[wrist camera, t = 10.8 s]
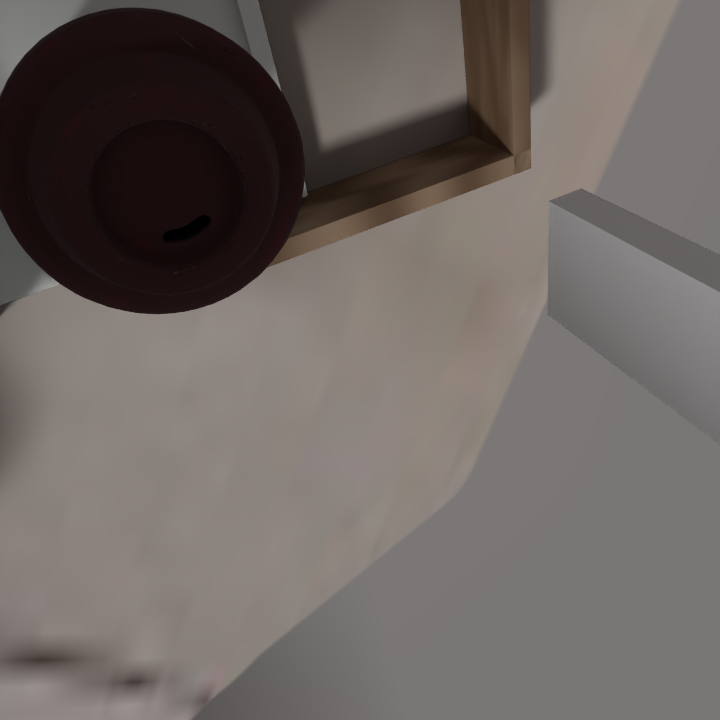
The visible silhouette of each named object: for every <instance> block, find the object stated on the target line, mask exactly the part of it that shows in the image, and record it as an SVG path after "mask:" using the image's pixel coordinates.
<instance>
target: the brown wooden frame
mask: <svg viewBox="0 0 720 720" xmlns="http://www.w3.org/2000/svg"><path fill="white" fill-rule="evenodd" d="M460 2H461V16H462V30H463V43H464V57H465V71H466V84H467V98H468V112H469V125H470V135H468V136H465V137H462V138H460V139H457V140H454V141H451V142H448V143H446V144H443V145H440V146H437V147H434V148H431V149H429V150H426V151H423V152H420V153H417V154H415V155H412V156H409V157H406V158H403V159H400V160H398V161H395V162H392V163H389V164H386V165H384V166H381V167H378V168H375V169H372V170H369V171H367V172H364V173H361V174H358V175H355V176H353V177H350V178H347V179H344V180H341V181H338V182H336V183H333V184H330V185H327V186H324V187H322V188H319V189H316V190H313V191H310V192H307V193H308V195H307V196H306V197H303V198H302V201H301V205H300V209H299V213H298V216H297V219H296V221H295V224H294V226H293V228H292V231H291V233H290V235H289V237H288V239H287V241H286V243H285V244H284V246H283V248H282V249H281V250H280V252H279V253H278V254H277V256H276V257H275V258H274V260H273V261H272V262H271V263H270V264H269V266H268V267H270V266H272V265H275V264H278V263H280V262H283V261H286V260H288V259H291V258H294V257H296V256H299V255H302V254H304V253H307V252H310V251H312V250H315V249H318V248H320V247H323V246H325V245H328V244H331V243H333V242H336V241H339V240H341V239H344V238H347V237H349V236H352V235H355V234H357V233H360V232H363V231H365V230H368V229H371V228H373V227H376V226H379V225H381V224H384V223H387V222H389V221H392V220H395V219H397V218H400V217H403V216H405V215H408V214H411V213H413V212H416V211H419V210H421V209H424V208H427V207H429V206H432V205H435V204H437V203H440V202H443V201H445V200H448V199H451V198H453V197H456V196H459V195H461V194H464V193H467V192H469V191H472V190H475V189H477V188H480V187H483V186H485V185H488V184H491V183H493V182H496V181H498V180H501V179H504V178H506V177H509V176H512V175H514V174H517V173H520V172H522V171H525V170H528V169H530V168H531V126H530V34H529V0H460Z"/></svg>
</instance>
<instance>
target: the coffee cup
mask: <svg viewBox="0 0 720 720" xmlns="http://www.w3.org/2000/svg"><path fill="white" fill-rule="evenodd" d="M304 178H305V166H304V154H303V146H302V141H301V137H300V133H299V129H298V127H297V124H296V121H295V119H294V116H293V114H292V111H291V109H290V106H289V104H288V102H287V101H286V99H285V97H284V95H283V93H282V92H281V90H280V88H279V87H278V85H277V84H276V82H275V81H274V80H273V79H272V77H271V76H270V75H269V74H268V72H267V71H266V70H265V69H264V68H263V67H262V65H261V64H260V63H259V62H258V61H257V60H256V59H255V58H254V57H253V56H251V55H250V54H249V53H248V52H247V51H246V50H245V49H243V48H242V47H241V46H239V45H238V44H237V43H235V42H234V41H233V40H231V39H229V38H228V37H226V36H224V35H223V34H221V33H219V32H218V31H216V30H214V29H213V28H211V27H209V26H207V25H205V24H203V23H201V22H198V21H196V20H194V19H191V18H188V17H186V16H183V15H180V14H176V13H172V12H168V11H163V10H159V9H149V8H115V9H107V10H103V11H98V12H94V13H90V14H87V15H84V16H82V17H79V18H76V19H74V20H71V21H69V22H68V23H66V24H64V25H62V26H60V27H58V28H56V29H55V30H53V31H52V32H50V33H49V34H48V35H46V36H45V37H43V38H42V39H41V40H39V41H38V42H37V43H36V44H35V45H34V46H33V47H32V48H31V49H30V50H29V51H28V52H27V53H26V54H25V55H24V57H23V58H22V59H21V60H20V62H19V63H18V64H17V65H16V67H15V68H14V70H13V72H12V73H11V75H10V76H9V78H8V80H7V82H6V84H5V86H4V88H3V90H2V93H1V95H0V210H1V212H2V214H3V216H4V218H5V220H6V222H7V224H8V226H9V228H10V230H11V232H12V233H13V235H14V236H15V238H16V240H17V241H18V243H19V244H20V245H21V247H22V248H23V249H24V251H25V252H26V253H27V254H28V255H29V256H30V257H31V259H32V260H33V261H34V262H35V263H36V264H37V265H38V266H39V267H40V268H41V269H42V270H43V271H44V272H46V273H47V274H48V275H49V276H50V277H52V278H53V279H54V280H55V281H57V282H58V283H60V284H61V285H63V286H65V287H66V288H68V289H69V290H71V291H73V292H74V293H76V294H78V295H80V296H82V297H84V298H86V299H89V300H91V301H94V302H96V303H99V304H102V305H105V306H107V307H111V308H115V309H120V310H124V311H129V312H135V313H145V314H168V313H178V312H185V311H189V310H194V309H198V308H201V307H204V306H207V305H211V304H213V303H216V302H218V301H220V300H223V299H225V298H227V297H229V296H231V295H232V294H234V293H236V292H237V291H239V290H241V289H242V288H243V287H245V286H246V285H247V284H249V283H250V282H251V281H253V280H254V279H255V278H257V277H258V276H259V275H260V274H261V273H262V272H263V271H264V270H265V269H266V268H267V267H268V266H269V264H270V263H271V262H272V261H273V260H274V258H275V257H276V256H277V254H278V253H279V252H280V250H281V249H282V248H283V246H284V244H285V243H286V241H287V239H288V237H289V235H290V233H291V231H292V228H293V226H294V224H295V221H296V219H297V216H298V213H299V209H300V205H301V201H302V195H303V190H304Z"/></svg>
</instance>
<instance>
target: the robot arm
mask: <svg viewBox="0 0 720 720" xmlns="http://www.w3.org/2000/svg"><path fill="white" fill-rule="evenodd" d="M548 315H549V316H551V317H552V318H553V319H554V320H556V321H557V322H558V323H559V324H561V325H562V326H564V327H565V328H566V329H568V330H569V331H570V332H571V333H573V334H574V335H575V336H577V337H578V338H579V339H580V340H582V341H583V342H585V343H586V344H587V345H588V346H590V347H591V348H592V349H594V350H595V351H596V352H598V353H599V354H600V355H602V356H603V357H604V358H605V359H607V360H608V361H609V362H611V363H612V364H613V365H615V366H616V367H617V368H619V369H620V370H621V371H623V372H624V373H625V374H627V375H628V376H629V377H631V378H632V379H633V380H634V381H636V382H637V383H638V384H640V385H641V386H642V387H644V388H645V389H646V390H648V391H649V392H650V393H652V394H653V395H654V396H655V397H657V398H658V399H660V400H661V401H662V402H663V403H665V404H666V405H667V406H669V407H670V408H671V409H673V410H674V411H675V412H677V413H678V414H679V415H681V416H682V417H683V418H684V419H686V420H687V421H688V422H690V423H691V424H692V425H694V426H695V427H696V428H698V429H699V430H700V431H702V432H703V433H704V434H706V435H707V436H708V437H710V438H711V439H712V440H713V441H715V442H716V443H717V444H719V445H720V254H718V253H715V252H713V251H711V250H709V249H707V248H705V247H703V246H701V245H699V244H697V243H694V242H692V241H690V240H688V239H686V238H684V237H682V236H680V235H678V234H675V233H674V232H671V231H669V230H667V229H665V228H663V227H661V226H659V225H657V224H654V223H652V222H650V221H648V220H646V219H644V218H642V217H640V216H638V215H636V214H634V213H632V212H629V211H627V210H625V209H623V208H621V207H619V206H617V205H615V204H613V203H611V202H609V201H606V200H604V199H602V198H600V197H598V196H596V195H594V194H592V193H590V192H588V191H585V190H583V189H579V190H576V191H574V192H571V193H568V194H566V195H563V196H561V197H558V198H556V199H553V200H550V201H549V227H548Z"/></svg>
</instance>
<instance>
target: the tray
mask: <svg viewBox="0 0 720 720" xmlns="http://www.w3.org/2000/svg"><path fill="white" fill-rule="evenodd" d="M115 8H149V9H159V10H163V11H168V12H172V13H176V14H180V15H183V16H186V17H188V18H191V19H194V20H196V21H198V22H201V23H203V24H205V25H207V26H209V27H211V28H213V29H214V30H216V31H218V32H219V33H221V34H223V35H224V36H226V37H228V38H229V39H231V40H233V41H234V42H235V43H237V44H238V45H239V46H241V47H242V48H243V49H245V50H246V51H247V52H248V53H249V54H250V55H251V56H253V57H254V58H255V59H256V60H257V61H258V62H259V63H260V64H261V65H262V67H263V68H264V69H265V70H266V71H267V72H268V74H269V75H270V76H271V77H272V79H273V80H274V81H275V82H276V84H277V85H278V87H279V88H280V84H279V80H278V76H277V72H276V68H275V64H274V60H273V56H272V52H271V48H270V45H269V41H268V37H267V33H266V29H265V25H264V21H263V17H262V13H261V9H260V5H259V1H258V0H0V95H1V93H2V90H3V88H4V86H5V84H6V82H7V80H8V78H9V76H10V75H11V73H12V72H13V70H14V68H15V67H16V65H17V64H18V63H19V62H20V60H21V59H22V58H23V57H24V55H25V54H26V53H27V52H28V51H29V50H30V49H31V48H32V47H33V46H34V45H35V44H36V43H37V42H38V41H39V40H41V39H42V38H43V37H45V36H46V35H48V34H49V33H50V32H52V31H53V30H55V29H56V28H58V27H60V26H62V25H64V24H66V23H68V22H69V21H71V20H74V19H76V18H79V17H82V16H84V15H87V14H90V13H94V12H98V11H103V10H107V9H115ZM280 90H281V88H280ZM307 195H308V193H307V189H306V185H305V182H304V190H303V195H302V198H303V197H306V196H307ZM59 284H60V283H58V282H57V281H55V280H54V279H53V278H52V277H50V276H49V275H48V274H47V273H46V272H44V271H43V270H42V269H41V268H40V267H39V266H38V265H37V264H36V263H35V262H34V261H33V260H32V259H31V257H30V256H29V255H28V254H27V253H26V252H25V251H24V249H23V248H22V247H21V245H20V244H19V243H18V241H17V240H16V238H15V236H14V235H13V233H12V232H11V230H10V228H9V226H8V224H7V222H6V220H5V218H4V216H3V214H2V212H1V210H0V305H2V304H5V303H8V302H11V301H14V300H16V299H19V298H22V297H25V296H28V295H31V294H33V293H36V292H39V291H42V290H45V289H47V288H50V287H53V286H56V285H59Z"/></svg>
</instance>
